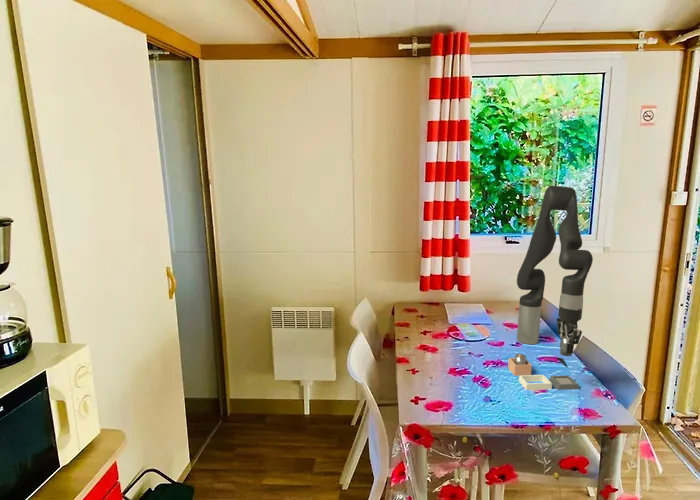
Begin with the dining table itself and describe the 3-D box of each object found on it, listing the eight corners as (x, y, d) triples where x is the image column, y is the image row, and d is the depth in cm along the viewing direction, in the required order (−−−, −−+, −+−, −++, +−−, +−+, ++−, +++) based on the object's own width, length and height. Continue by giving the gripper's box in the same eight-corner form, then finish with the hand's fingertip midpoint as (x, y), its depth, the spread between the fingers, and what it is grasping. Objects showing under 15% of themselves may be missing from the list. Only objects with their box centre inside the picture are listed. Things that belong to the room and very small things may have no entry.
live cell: (557, 351, 178) (559, 333, 177) (568, 351, 178) (570, 333, 177) (563, 356, 174) (565, 338, 173) (574, 356, 174) (576, 337, 173)
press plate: (554, 380, 180) (554, 378, 180) (566, 380, 181) (567, 377, 181) (560, 386, 176) (560, 383, 176) (573, 386, 176) (573, 383, 176)
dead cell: (512, 369, 191) (513, 352, 189) (522, 369, 191) (523, 352, 190) (516, 374, 187) (517, 357, 186) (526, 373, 187) (527, 356, 186)
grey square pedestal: (548, 382, 182) (548, 375, 181) (569, 382, 182) (569, 375, 182) (557, 391, 175) (557, 384, 174) (579, 391, 175) (579, 384, 175)
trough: (518, 383, 182) (519, 375, 181) (542, 382, 182) (543, 374, 182) (526, 392, 175) (526, 384, 174) (551, 391, 176) (552, 383, 175)
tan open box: (508, 370, 192) (508, 358, 191) (523, 369, 193) (524, 357, 192) (514, 377, 186) (515, 365, 185) (530, 377, 186) (531, 364, 185)
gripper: (551, 299, 179) (547, 343, 183) (570, 312, 165) (565, 359, 169) (571, 298, 179) (566, 342, 183) (592, 311, 166) (587, 359, 169)
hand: (566, 350), depth 176 cm, fingers closed on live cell, 4 cm apart
